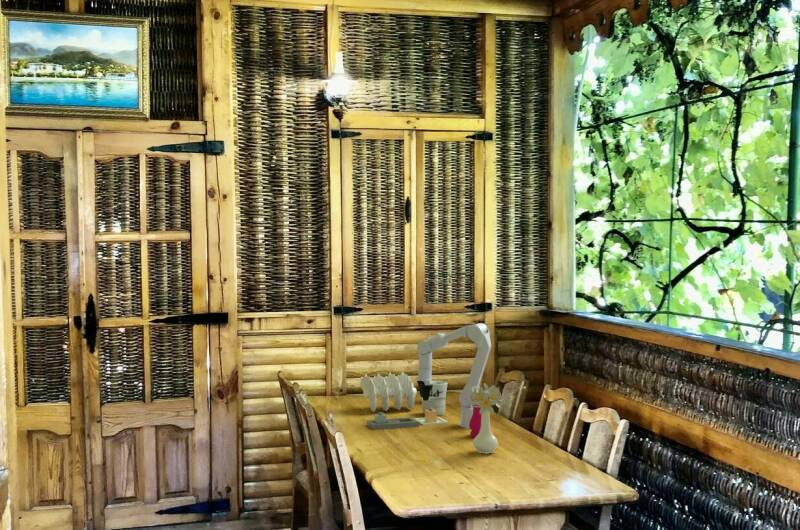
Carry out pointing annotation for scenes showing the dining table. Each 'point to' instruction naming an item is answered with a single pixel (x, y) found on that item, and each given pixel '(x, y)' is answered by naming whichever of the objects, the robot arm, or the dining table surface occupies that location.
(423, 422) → the tray
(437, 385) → the mug
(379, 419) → the seated twin plug
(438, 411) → the teacup
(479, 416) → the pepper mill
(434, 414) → the orange plug
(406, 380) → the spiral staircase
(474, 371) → the robot arm
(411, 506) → the dining table surface
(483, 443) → the flower vase
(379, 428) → the grey socket board
